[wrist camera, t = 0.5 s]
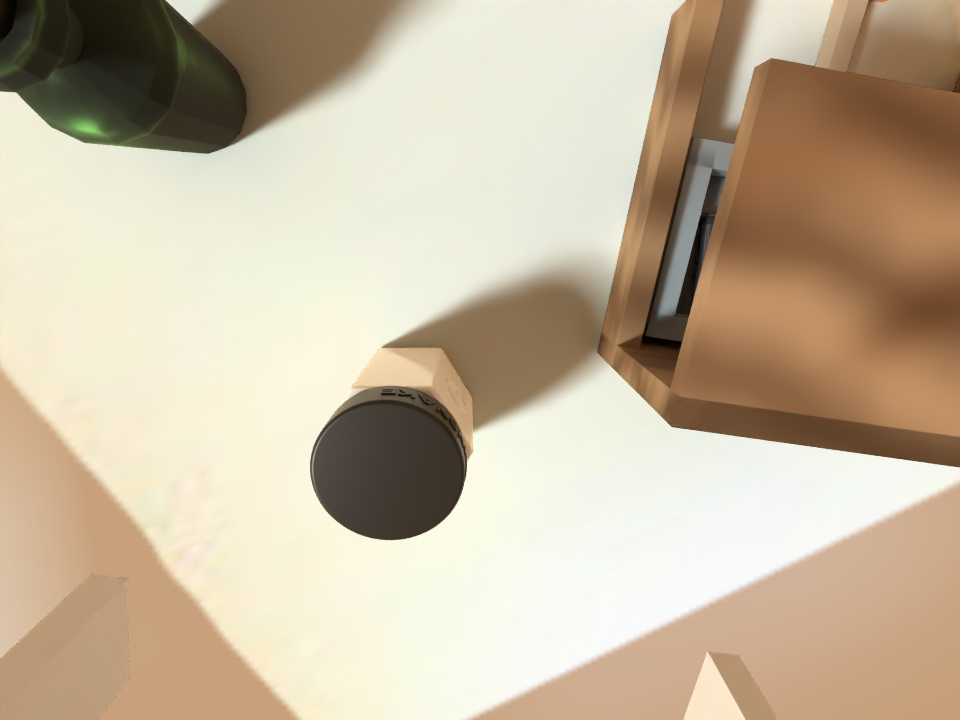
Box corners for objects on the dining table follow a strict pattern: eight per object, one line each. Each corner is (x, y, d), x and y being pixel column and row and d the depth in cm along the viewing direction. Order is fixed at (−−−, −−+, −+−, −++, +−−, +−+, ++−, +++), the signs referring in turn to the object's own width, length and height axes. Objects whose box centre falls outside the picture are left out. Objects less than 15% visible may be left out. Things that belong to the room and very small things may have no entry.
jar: (489, 420, 38) (498, 504, 27) (398, 469, 39) (369, 571, 28) (428, 319, 36) (409, 363, 25) (333, 374, 37) (272, 441, 26)
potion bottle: (221, 193, 34) (-41, 160, 16) (109, 112, 32) (-306, -17, 15) (285, 86, 32) (71, -75, 15) (170, -3, 31) (-214, -296, 14)
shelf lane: (671, 15, 32) (826, -145, 18) (983, 74, 33) (1350, -33, 19) (597, 352, 37) (671, 426, 24) (866, 392, 38) (1086, 485, 25)
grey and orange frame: (737, -107, 30) (864, -264, 20) (993, -55, 31) (1230, -181, 21) (634, 328, 37) (693, 365, 27) (847, 360, 38) (976, 407, 28)
